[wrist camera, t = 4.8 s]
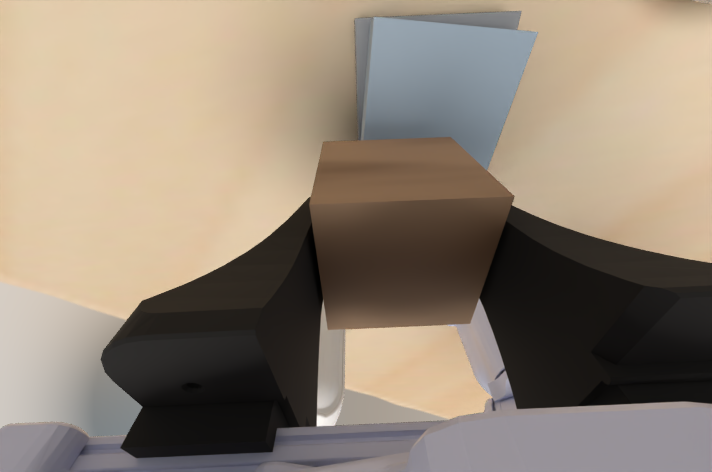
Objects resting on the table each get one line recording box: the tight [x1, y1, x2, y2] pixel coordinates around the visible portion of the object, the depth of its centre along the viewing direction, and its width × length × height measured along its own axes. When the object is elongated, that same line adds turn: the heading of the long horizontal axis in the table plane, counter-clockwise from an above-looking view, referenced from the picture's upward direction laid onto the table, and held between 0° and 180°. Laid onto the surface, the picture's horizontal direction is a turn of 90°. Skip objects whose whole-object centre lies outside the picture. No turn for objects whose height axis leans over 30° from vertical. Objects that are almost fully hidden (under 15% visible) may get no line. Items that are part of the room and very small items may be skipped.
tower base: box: [354, 11, 521, 140], centre depth 16 cm, size 8×8×2 cm
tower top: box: [361, 17, 538, 170], centre depth 14 cm, size 7×7×2 cm
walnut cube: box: [309, 137, 515, 330], centre depth 10 cm, size 5×5×5 cm
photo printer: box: [317, 301, 345, 426], centre depth 24 cm, size 10×4×12 cm, turn 159°
